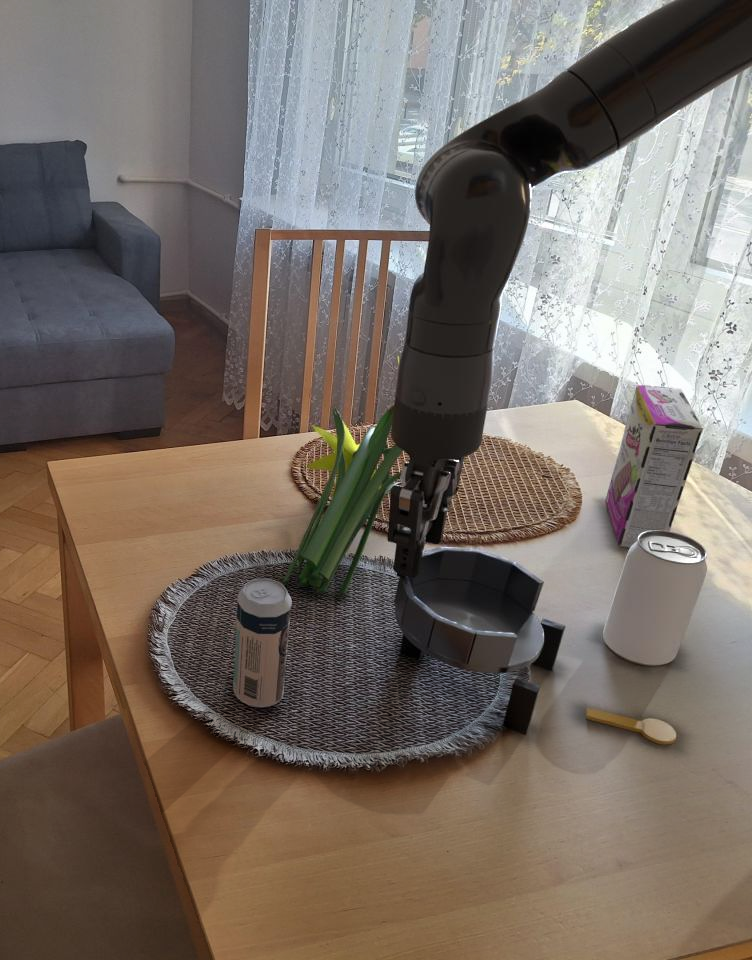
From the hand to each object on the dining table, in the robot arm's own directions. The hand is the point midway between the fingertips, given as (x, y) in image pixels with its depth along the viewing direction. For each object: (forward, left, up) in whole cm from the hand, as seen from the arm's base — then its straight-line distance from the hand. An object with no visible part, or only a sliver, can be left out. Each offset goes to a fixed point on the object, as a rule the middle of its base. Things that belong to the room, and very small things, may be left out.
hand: (418, 556), depth 81 cm
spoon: (-20, -1, -11) cm, 23 cm away
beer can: (+9, +14, -11) cm, 20 cm away
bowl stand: (-7, 0, -11) cm, 13 cm away
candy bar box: (-15, -37, -11) cm, 41 cm away
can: (-19, -13, -11) cm, 26 cm away
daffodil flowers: (+12, -18, -11) cm, 24 cm away
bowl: (-5, 0, -6) cm, 8 cm away
